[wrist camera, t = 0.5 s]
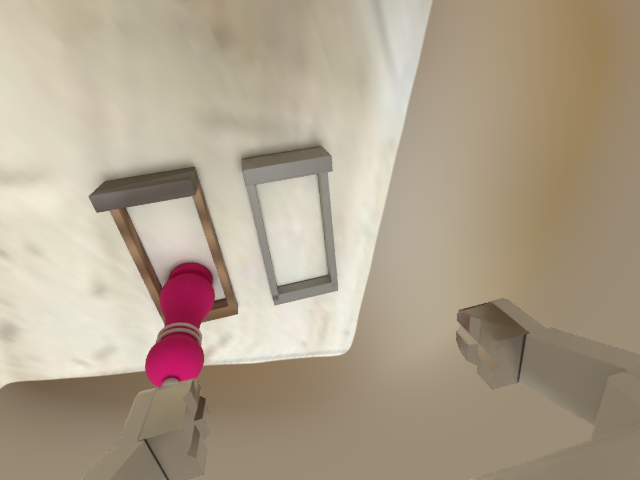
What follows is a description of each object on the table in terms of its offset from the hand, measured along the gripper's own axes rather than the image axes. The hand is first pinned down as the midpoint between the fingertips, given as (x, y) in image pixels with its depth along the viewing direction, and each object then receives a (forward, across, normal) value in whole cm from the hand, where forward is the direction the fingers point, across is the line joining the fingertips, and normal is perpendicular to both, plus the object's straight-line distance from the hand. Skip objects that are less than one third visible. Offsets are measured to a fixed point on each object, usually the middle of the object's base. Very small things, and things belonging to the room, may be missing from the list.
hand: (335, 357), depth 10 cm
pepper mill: (+39, +16, +16) cm, 45 cm away
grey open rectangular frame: (+38, -2, +11) cm, 40 cm away
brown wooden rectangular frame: (+38, +16, +11) cm, 42 cm away
